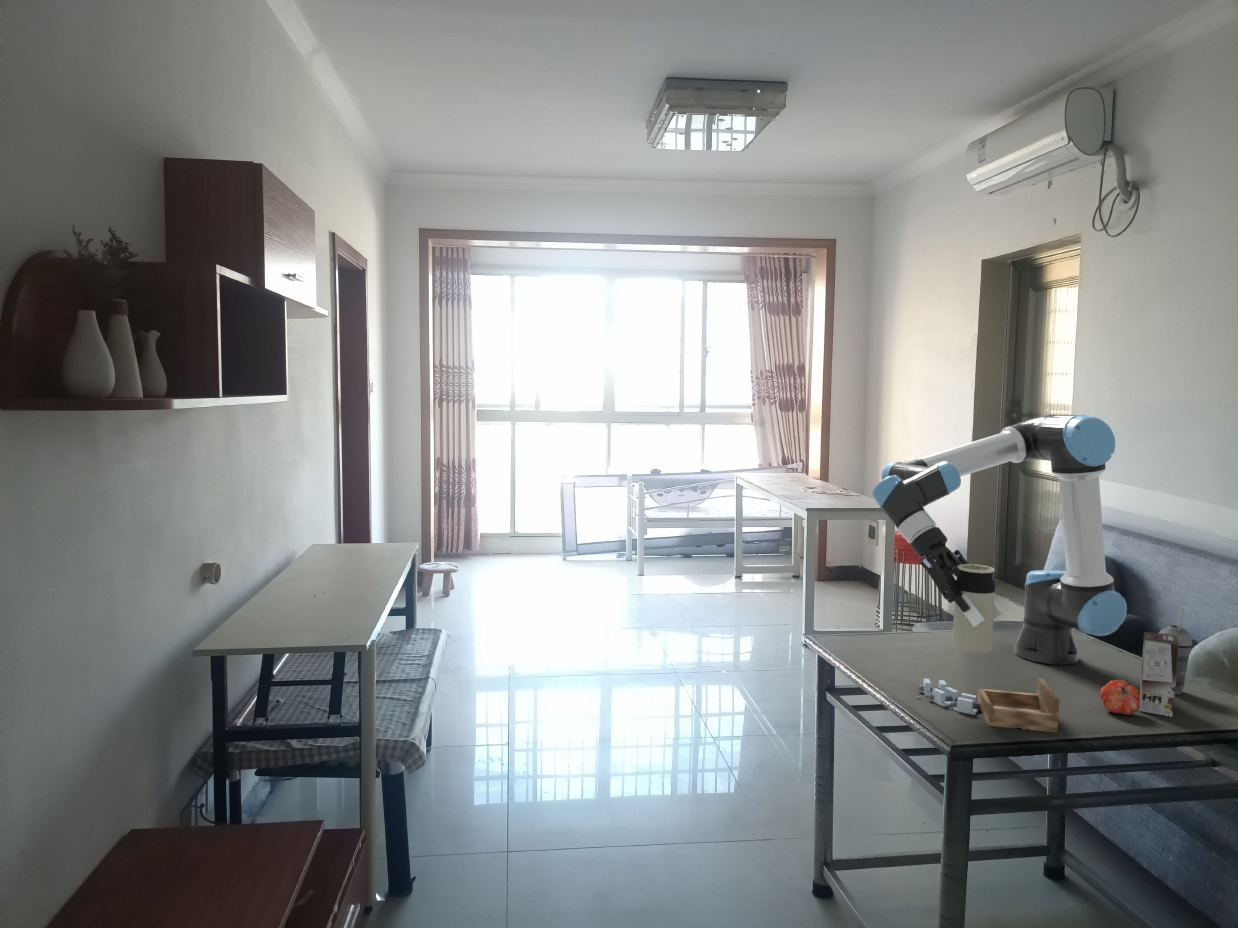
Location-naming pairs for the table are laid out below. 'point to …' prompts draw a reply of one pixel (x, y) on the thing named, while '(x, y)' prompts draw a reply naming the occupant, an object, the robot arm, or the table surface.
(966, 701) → the cable route
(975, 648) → the travel mug
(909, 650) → the table surface
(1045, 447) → the robot arm
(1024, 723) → the wooden tray
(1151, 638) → the coffee box
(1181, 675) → the beverage cup
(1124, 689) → the pomegranate
